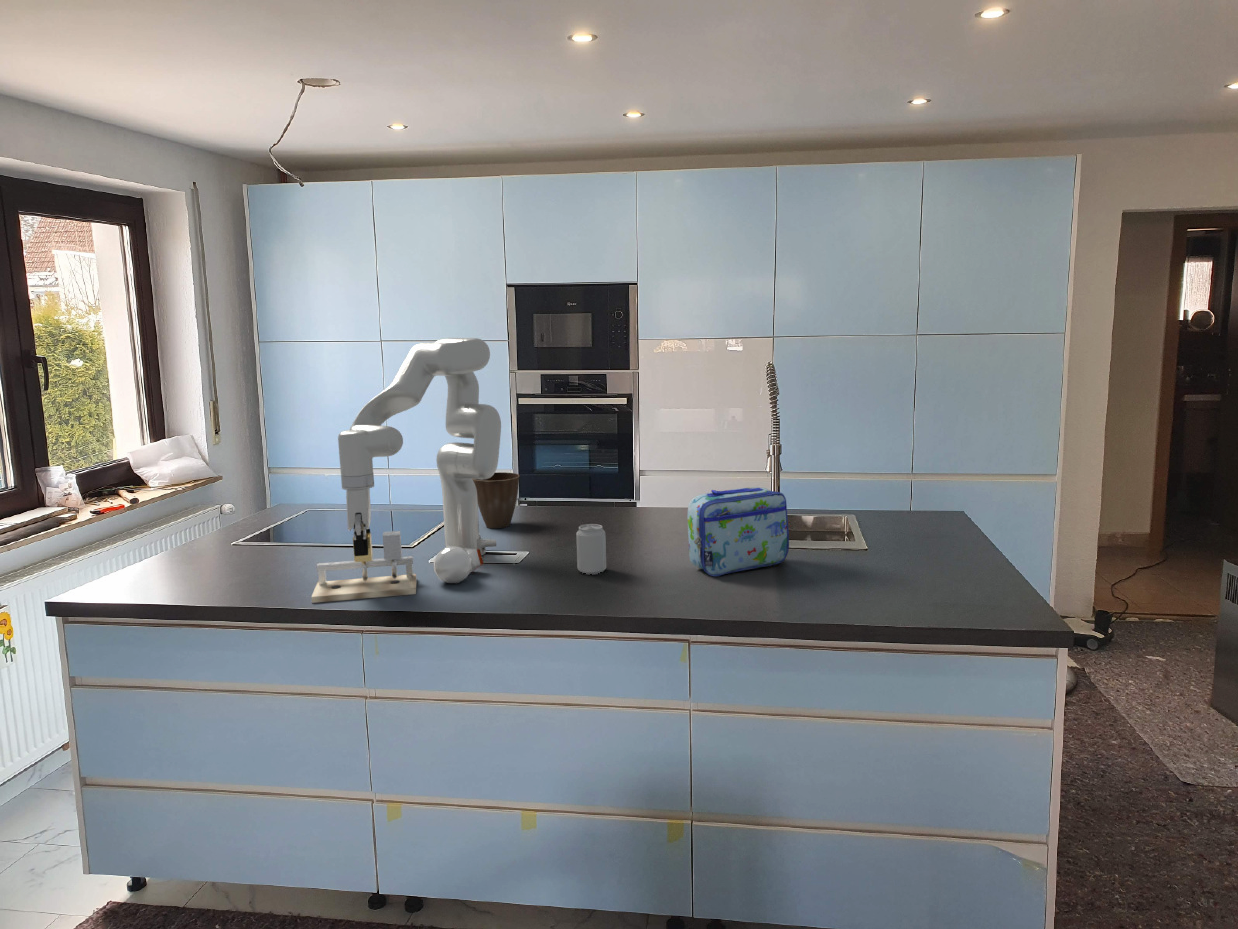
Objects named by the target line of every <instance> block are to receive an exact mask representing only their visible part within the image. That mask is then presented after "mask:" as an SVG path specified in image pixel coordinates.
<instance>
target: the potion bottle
mask: <svg viewBox="0 0 1238 929" xmlns="http://www.w3.org/2000/svg"><path fill="white" fill-rule="evenodd" d="M442 549H443V550H442ZM442 549H440V551H438V552H437V553H436V555H435V557H434V558H433V572H434V573H435V575H436V576H437V579H438V580H439V581H442V582H444V583H447V584H459V583H460V582H462V581H464V580H465V579H466V578H468V575H470V574H471V572H474V571H476V570H477V569H479V568H481V566H483V565H484V559H483V556H481V552H480V549H471V548H460V547H455V546H447V547H445V546H444V548H442Z"/></svg>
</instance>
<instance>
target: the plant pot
mask: <svg viewBox="0 0 1238 929" xmlns="http://www.w3.org/2000/svg"><path fill="white" fill-rule="evenodd" d="M472 480H473V482H474V484H475V486H476V489H477V498H478V499H477V500H478V511H479V512H480V516H481V517H482V520H483V522H484V524H485V526H486V528H489V529H504V528H508V527H509V526H510V525H511V523H512V520H513V516H514V512H515V508H516V504H517V500H518V493H519V485H520V474H519V473H514V472H506V471H504V472H503V471H501V472H499V471H497V472H495V473H494V475H493V476H492V477H490V478H488V479H472Z"/></svg>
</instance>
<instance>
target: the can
mask: <svg viewBox="0 0 1238 929" xmlns="http://www.w3.org/2000/svg"><path fill="white" fill-rule="evenodd" d="M575 535H576V537H575V538H576V562H577V563H576V564H577V567H576V568H577V570H578V571H579V572H580V573H581V572H582V573H581V574H583V573H586V574H585V575H590V574H592V575H599V574H601V573H600V572H602V573H603V572H605V570H606V569H607V548H606V547H607V546H606V545H607V544H606V543H607V542H606V541H607V540H606V538H607V537H606V531H605V530H604V529H603V525H601V524H596V523H589V524H581V525H580V526H578V530H577V532H576V533H575ZM598 573H599V574H598Z"/></svg>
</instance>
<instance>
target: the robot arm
mask: <svg viewBox="0 0 1238 929" xmlns="http://www.w3.org/2000/svg"><path fill="white" fill-rule="evenodd" d="M490 357H491V351H490V347H489V345H488V344H487V342H485V340H483V339H481V338H478V337H477V338H476V337H448V338H441V339H437V340H436V341H434V342H420V343H417V344H415V345H413V346H412V347H411V348H410V350H409V352H408V353H407V355H406V357H405V358H404V360H403V362H402V364H401V365H400V367H399V369H398V370H397V373H395V376H394V378H393V379H392V381H391V382H390V384H389V385H388V387H386V388H385V389H384V390H382V391H381V392H380V393H378V394H377V395H375V397H373V398H371V400H370V401H368V402H367V403H366V404H365V405H363V407H362V408H361V409H360V410H359V412H358V413H357V414H356V417H355V419H354V420H353V422H352V423H351V426H350V428H349V429H347V430H342V431H341V432H339V433H338V436H337V443H338V455H339V470H340V482H341V489H342V490H345V492H346V496H345V497H346V498H345V499H346V502H345V503H346V516H347V517H346V518H347V519H346V520H347V530H348V531H349V532H350V531H352V530H353V536H354V539H353V538H352V545H353V544H354V548H353V556H354V555H355V556H365V555H368V541H367V539H366V533H371V528H370V525H371V518H372V516H371V514H372V513H371V512H372V511H371V509H372V506H371V503H372V502H371V490H370V489H371V488H374V487H375V477H374V464H373V462H374V461H373V459H374V458H385V457H392V456H394V455H396V454H397V453H399V452H400V451H401V449H402V447H403V444H404V437H403V435H402V433H401V432H400V431H399V430H398V429H397V428H395V427H393V426H388V425H383V424H384V423H385V422H386V421H387V420H388V419H390V418H392V417H394V416H395V415H398V414H401V413H402V412H406V411H408V410H410V409H412V408H414V407H417V406H418V405H419V404H420V403H421V401H422V399H423V397H424V395H425V394H426V392H427V390H428V389H429V387H430V385H431V383H432V381H433V380H434V378H435V377H436V376H439V377H441V376H442V377H443V376H444V377H445V380H446V383H447V398H446V410H445V430H446V432H447V433H448V434H449V435H450V436H452V437H454V438H455V437H456V438H461V439H471V440H472V439H473V443H468V442H449V443H448V442H447V443H445V444H444V445H443V446H441V447H440V448H439V449H438V451H437V453H436V459H435V460H436V467H437V471H438V475H439V479H440V484H441V485H440V486H441V493H442V509H443V510H442V511H443V527H444V528H443V529H444V531H443V532H444V544H445V545H444V548H445V547H447V546H455V547H460V548H471V549H480V552H481V555H483V556H484V555H485V554H486V553H487V552H486V551H487V550H486V548H487V547H489V548H490V547H491V548H492V547H497V539H492V538H486V539H483V538H481V534H480V524H479V522H480V521H479V507H478V500H477V499H478V498H477V489H476V486H475V484H474V482H473V480H472V479H488V478H490V477H492V476H493V475H494V473H496V471H497V469H498V464H499V458H500V457H499V456H500V448H501V447H500V445H501V437H502V436H501V433H502V421H501V417H500V414H499V412H498V410H497V409H496V408H495V407H494V406H492V405H490V404H486V403H479V398H480V385H479V381H478V378H477V376H476V374H475V373H474V372H478V371H481V370H483V368H485V367H487V365H488V363H489V362H490V361H489V360H490ZM444 548H442V549H441V550H443V549H444Z"/></svg>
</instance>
